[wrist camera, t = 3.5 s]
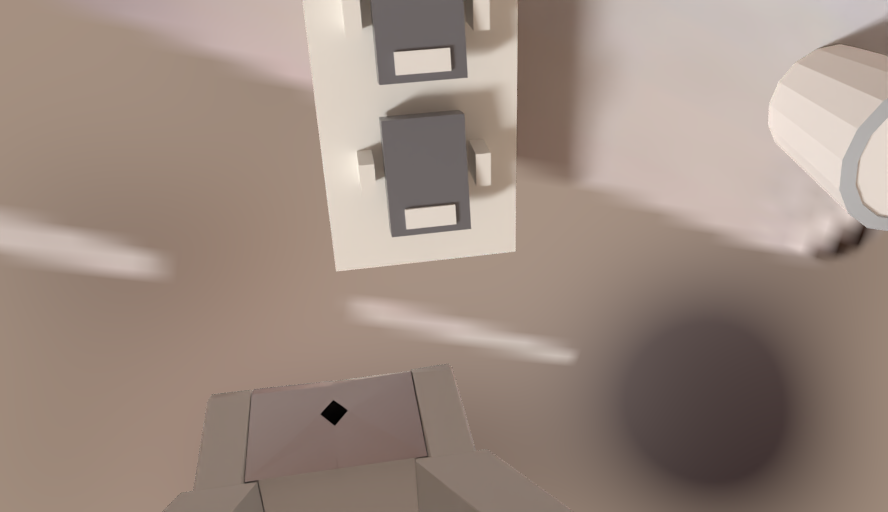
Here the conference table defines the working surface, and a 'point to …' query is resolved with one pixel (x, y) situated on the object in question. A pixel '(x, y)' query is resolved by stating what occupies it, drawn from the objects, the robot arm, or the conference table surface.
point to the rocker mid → (418, 40)
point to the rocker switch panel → (363, 101)
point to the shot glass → (838, 126)
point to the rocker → (425, 172)
